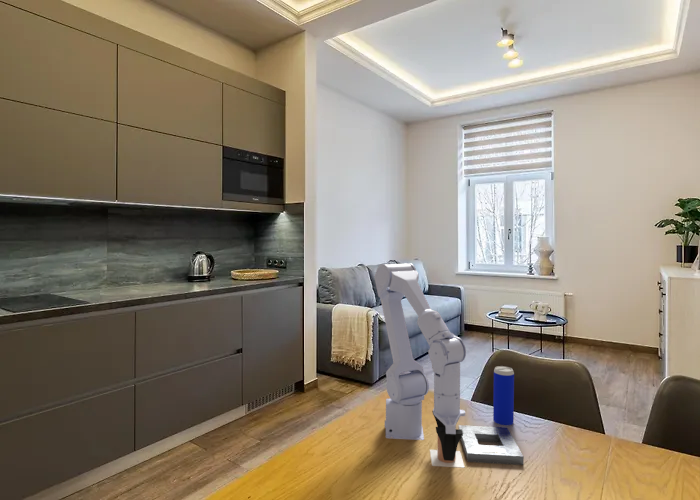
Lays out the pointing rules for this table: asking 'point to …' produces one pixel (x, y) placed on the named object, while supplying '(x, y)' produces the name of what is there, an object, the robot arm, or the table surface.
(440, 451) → the peg
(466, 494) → the table surface
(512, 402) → the beverage can
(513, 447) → the hole plate
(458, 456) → the tile
